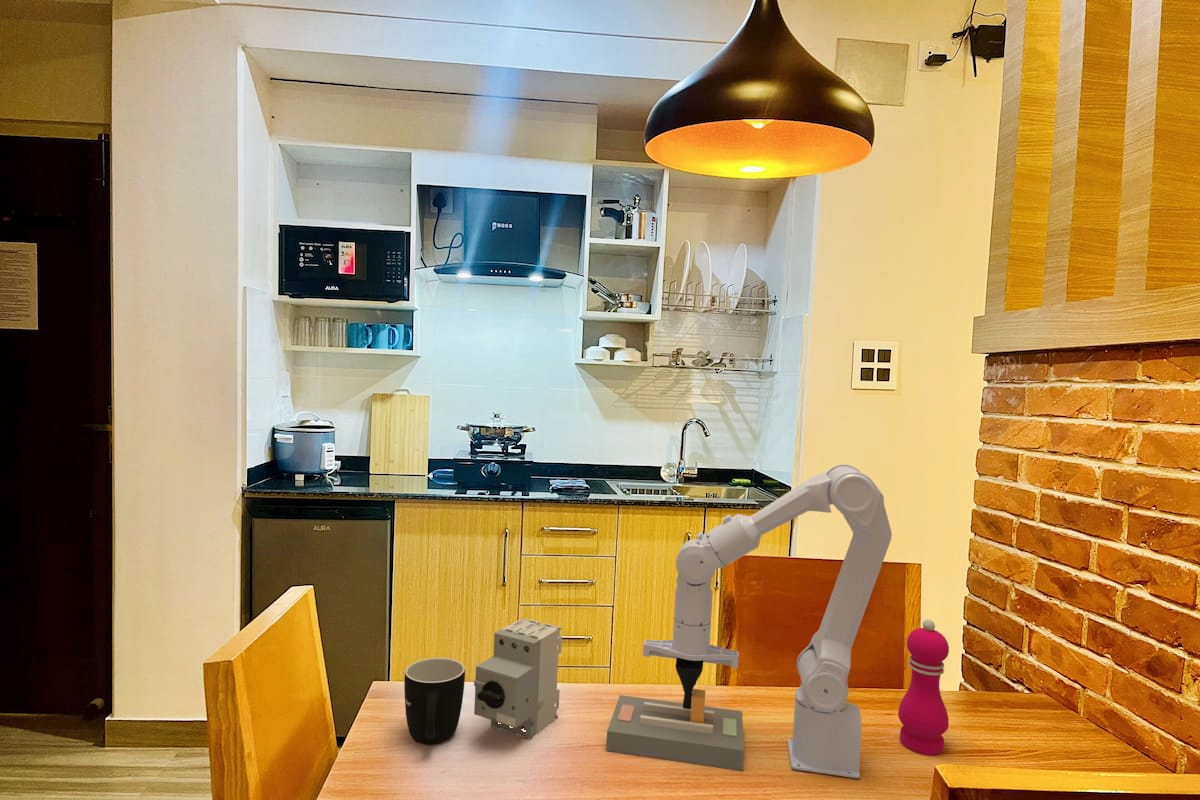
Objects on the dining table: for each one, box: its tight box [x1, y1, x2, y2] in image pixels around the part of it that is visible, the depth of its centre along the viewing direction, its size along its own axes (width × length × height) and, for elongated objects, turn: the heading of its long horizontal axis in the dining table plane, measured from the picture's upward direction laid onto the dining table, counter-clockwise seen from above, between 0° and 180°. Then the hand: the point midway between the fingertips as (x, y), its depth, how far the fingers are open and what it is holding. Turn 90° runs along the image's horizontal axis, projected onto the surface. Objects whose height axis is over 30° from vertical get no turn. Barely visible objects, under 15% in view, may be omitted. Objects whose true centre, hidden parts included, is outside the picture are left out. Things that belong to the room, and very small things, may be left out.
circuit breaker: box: [473, 617, 563, 740], centre depth 107 cm, size 8×14×15 cm, turn 152°
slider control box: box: [605, 694, 745, 772], centre depth 106 cm, size 20×12×4 cm, turn 79°
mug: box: [403, 657, 466, 746], centre depth 103 cm, size 12×9×10 cm
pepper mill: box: [897, 619, 950, 756], centre depth 108 cm, size 7×7×20 cm
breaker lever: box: [690, 688, 706, 724], centre depth 106 cm, size 2×3×4 cm
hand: (687, 706), depth 106 cm, fingers closed
